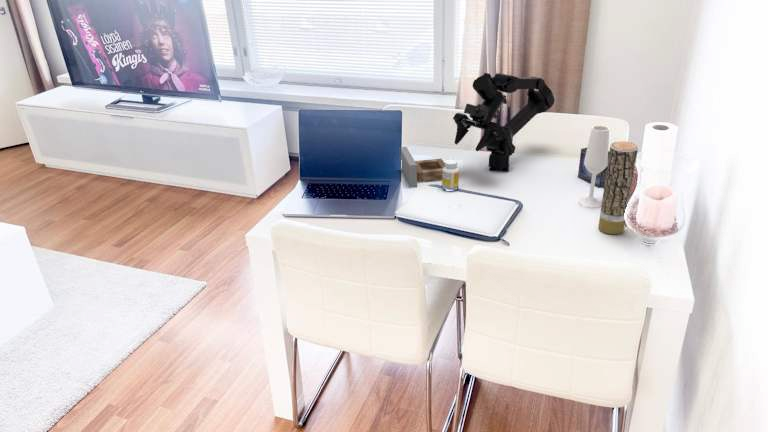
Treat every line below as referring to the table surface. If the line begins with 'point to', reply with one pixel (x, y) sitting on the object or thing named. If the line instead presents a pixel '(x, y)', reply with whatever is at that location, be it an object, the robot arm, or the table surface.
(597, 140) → the champagne flute
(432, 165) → the walnut socket block
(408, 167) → the grey backstop board
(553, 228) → the table surface
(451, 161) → the supplement bottle
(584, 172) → the small box
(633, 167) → the bark print cylinder
